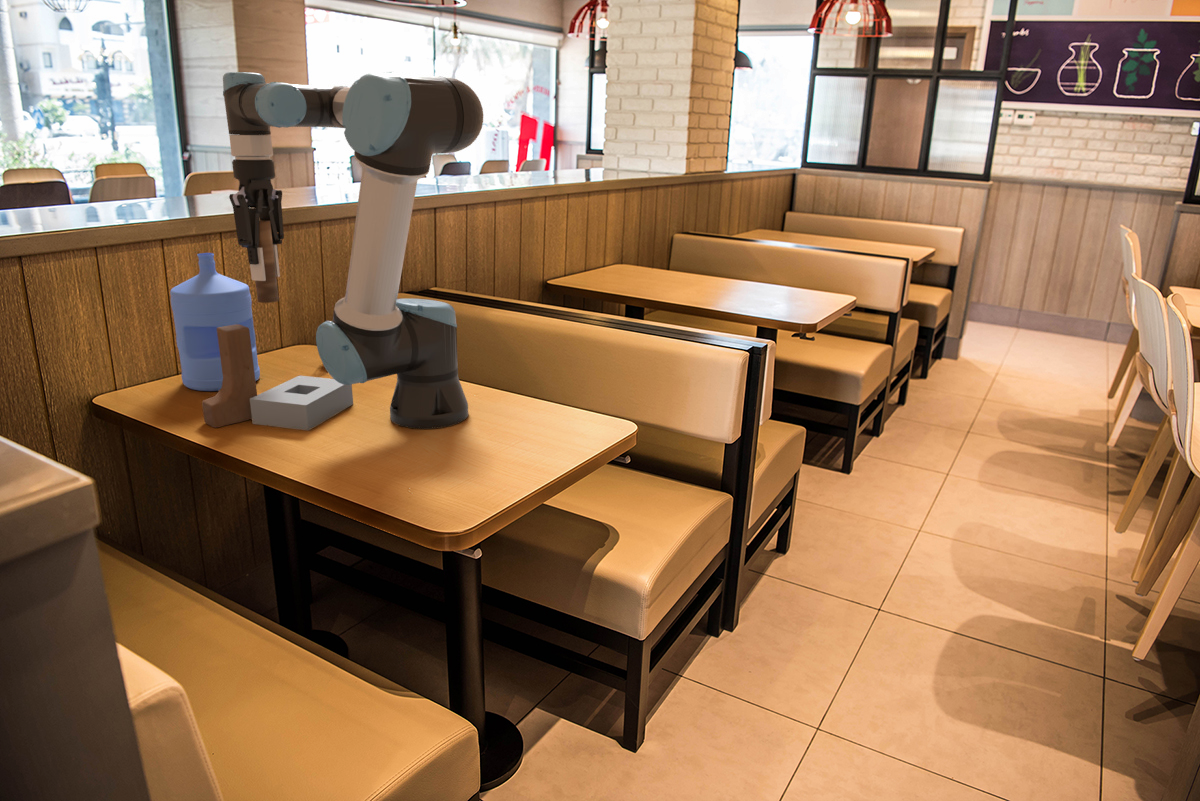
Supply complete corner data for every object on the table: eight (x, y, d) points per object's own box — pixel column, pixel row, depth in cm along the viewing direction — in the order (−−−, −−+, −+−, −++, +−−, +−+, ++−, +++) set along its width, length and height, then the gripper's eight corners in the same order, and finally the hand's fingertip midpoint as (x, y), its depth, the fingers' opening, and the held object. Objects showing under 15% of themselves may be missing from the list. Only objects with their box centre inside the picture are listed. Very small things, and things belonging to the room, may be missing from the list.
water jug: (173, 379, 182) (153, 252, 173) (245, 367, 192) (230, 246, 183) (196, 397, 171) (177, 262, 162) (271, 383, 181) (257, 255, 172)
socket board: (301, 398, 172) (299, 375, 170) (353, 404, 169) (351, 380, 168) (252, 423, 157) (249, 398, 156) (308, 430, 154) (305, 405, 153)
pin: (282, 299, 170) (274, 220, 165) (270, 303, 166) (261, 222, 161) (265, 298, 171) (257, 219, 166) (253, 301, 167) (244, 221, 162)
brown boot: (214, 429, 154) (201, 335, 148) (203, 423, 157) (190, 331, 151) (260, 417, 161) (249, 327, 155) (250, 412, 163) (239, 323, 158)
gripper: (263, 156, 169) (275, 270, 176) (205, 159, 153) (222, 284, 160) (295, 157, 167) (306, 272, 174) (240, 160, 151) (255, 286, 159)
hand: (266, 278), depth 167 cm, fingers closed on pin, 4 cm apart
